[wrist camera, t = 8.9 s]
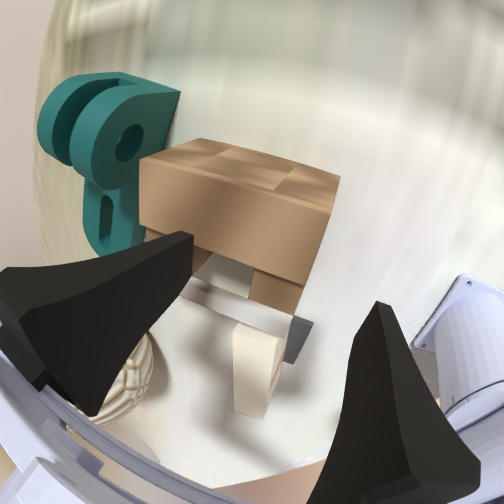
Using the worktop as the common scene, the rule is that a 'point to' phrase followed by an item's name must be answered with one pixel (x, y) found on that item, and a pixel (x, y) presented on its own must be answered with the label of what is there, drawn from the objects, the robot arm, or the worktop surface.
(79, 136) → the bracket
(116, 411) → the vase
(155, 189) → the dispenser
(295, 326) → the mat
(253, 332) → the cream flat block piece
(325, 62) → the worktop surface
